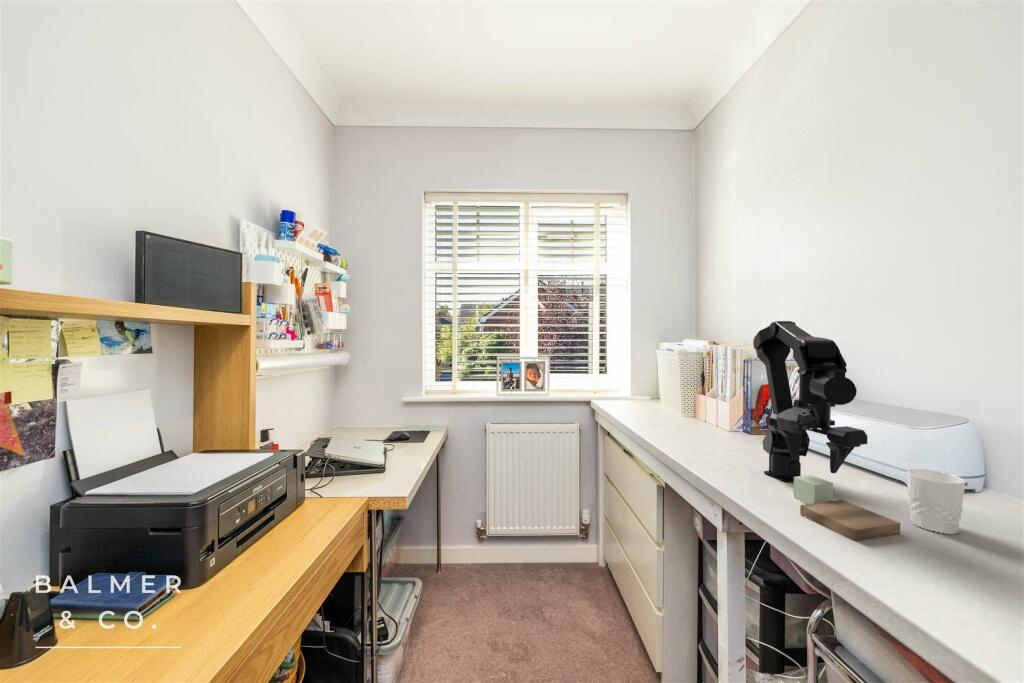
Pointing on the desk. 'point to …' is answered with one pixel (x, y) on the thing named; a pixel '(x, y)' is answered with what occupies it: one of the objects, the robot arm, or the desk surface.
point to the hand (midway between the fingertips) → (813, 465)
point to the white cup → (935, 500)
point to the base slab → (850, 519)
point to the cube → (812, 489)
